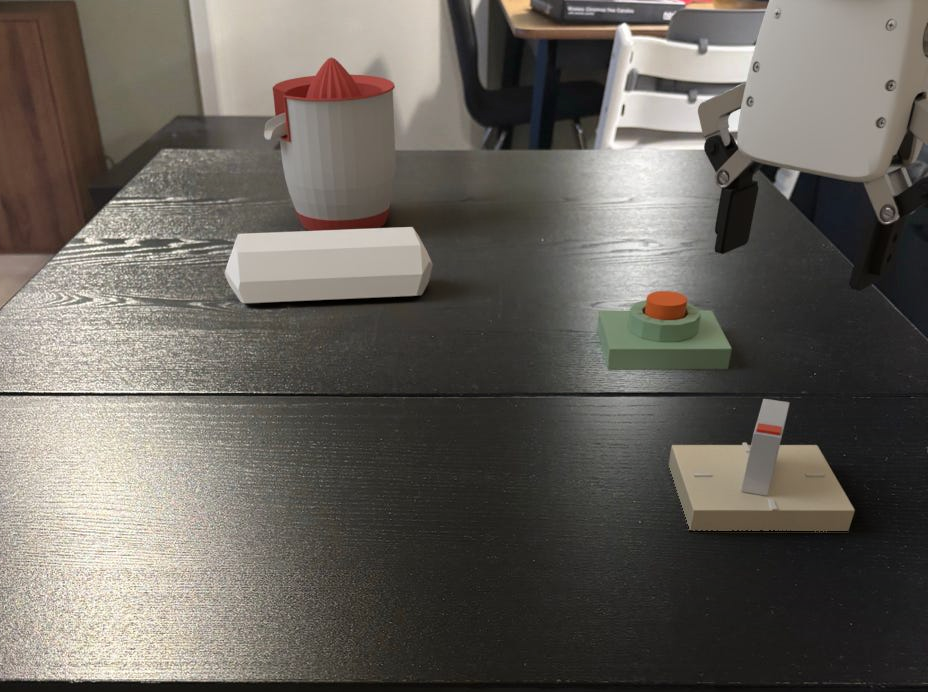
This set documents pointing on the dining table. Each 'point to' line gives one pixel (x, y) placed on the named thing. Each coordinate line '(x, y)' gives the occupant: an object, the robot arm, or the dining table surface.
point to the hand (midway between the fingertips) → (794, 265)
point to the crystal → (328, 265)
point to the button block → (662, 340)
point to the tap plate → (784, 508)
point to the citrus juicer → (336, 147)
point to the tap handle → (765, 447)
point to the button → (666, 305)
